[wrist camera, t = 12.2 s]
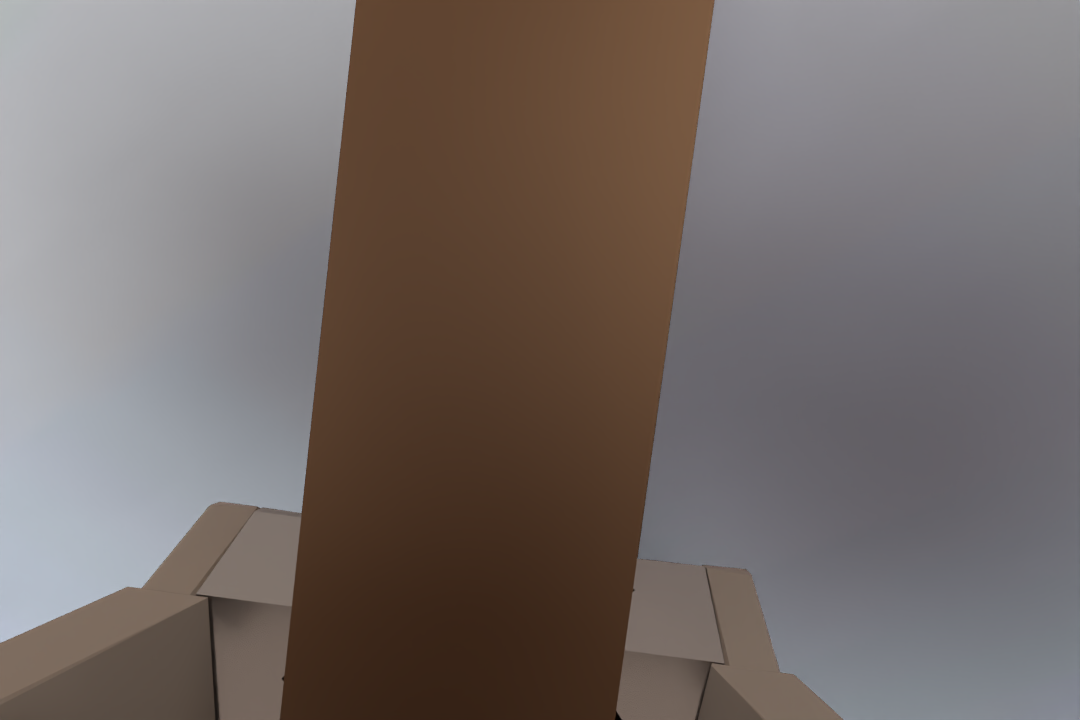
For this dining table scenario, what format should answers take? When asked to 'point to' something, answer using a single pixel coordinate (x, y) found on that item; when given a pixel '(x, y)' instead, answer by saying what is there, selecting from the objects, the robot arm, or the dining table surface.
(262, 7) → the dining table surface
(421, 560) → the walnut pusher
